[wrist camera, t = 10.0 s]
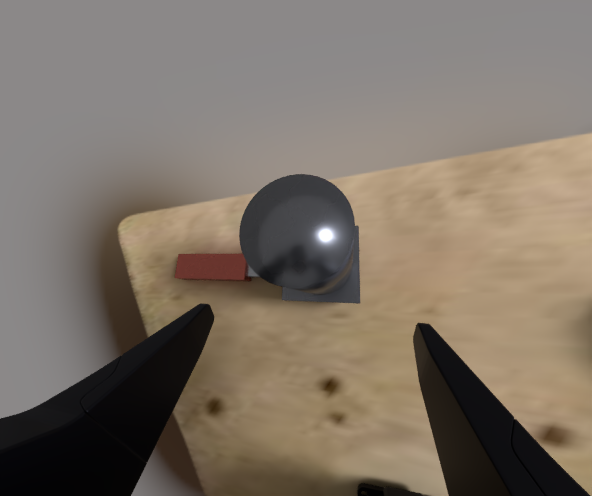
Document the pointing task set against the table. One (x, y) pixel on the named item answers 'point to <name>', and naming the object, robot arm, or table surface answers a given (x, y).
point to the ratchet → (214, 267)
